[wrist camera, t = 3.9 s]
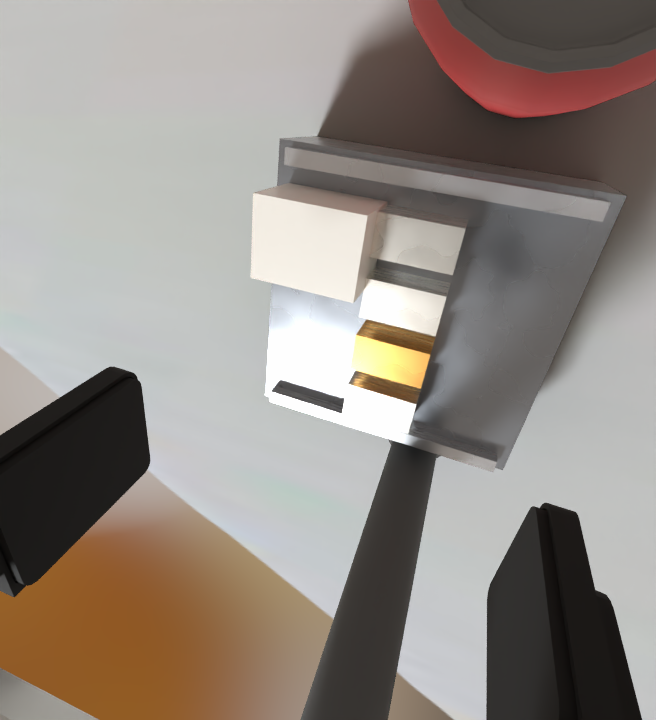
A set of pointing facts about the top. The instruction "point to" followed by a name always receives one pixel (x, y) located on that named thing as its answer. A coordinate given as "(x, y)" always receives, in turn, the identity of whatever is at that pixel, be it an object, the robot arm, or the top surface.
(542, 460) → the top surface
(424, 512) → the post
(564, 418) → the top surface
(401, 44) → the top surface
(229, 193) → the top surface
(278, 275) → the white block
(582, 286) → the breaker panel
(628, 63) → the beer can
